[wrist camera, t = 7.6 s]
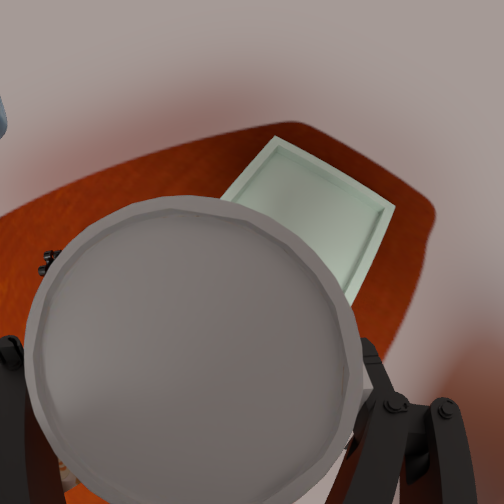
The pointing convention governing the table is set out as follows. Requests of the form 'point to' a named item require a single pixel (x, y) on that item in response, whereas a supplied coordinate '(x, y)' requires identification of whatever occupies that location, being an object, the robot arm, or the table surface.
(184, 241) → the disposable coffee cup
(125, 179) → the table surface
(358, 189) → the tray
